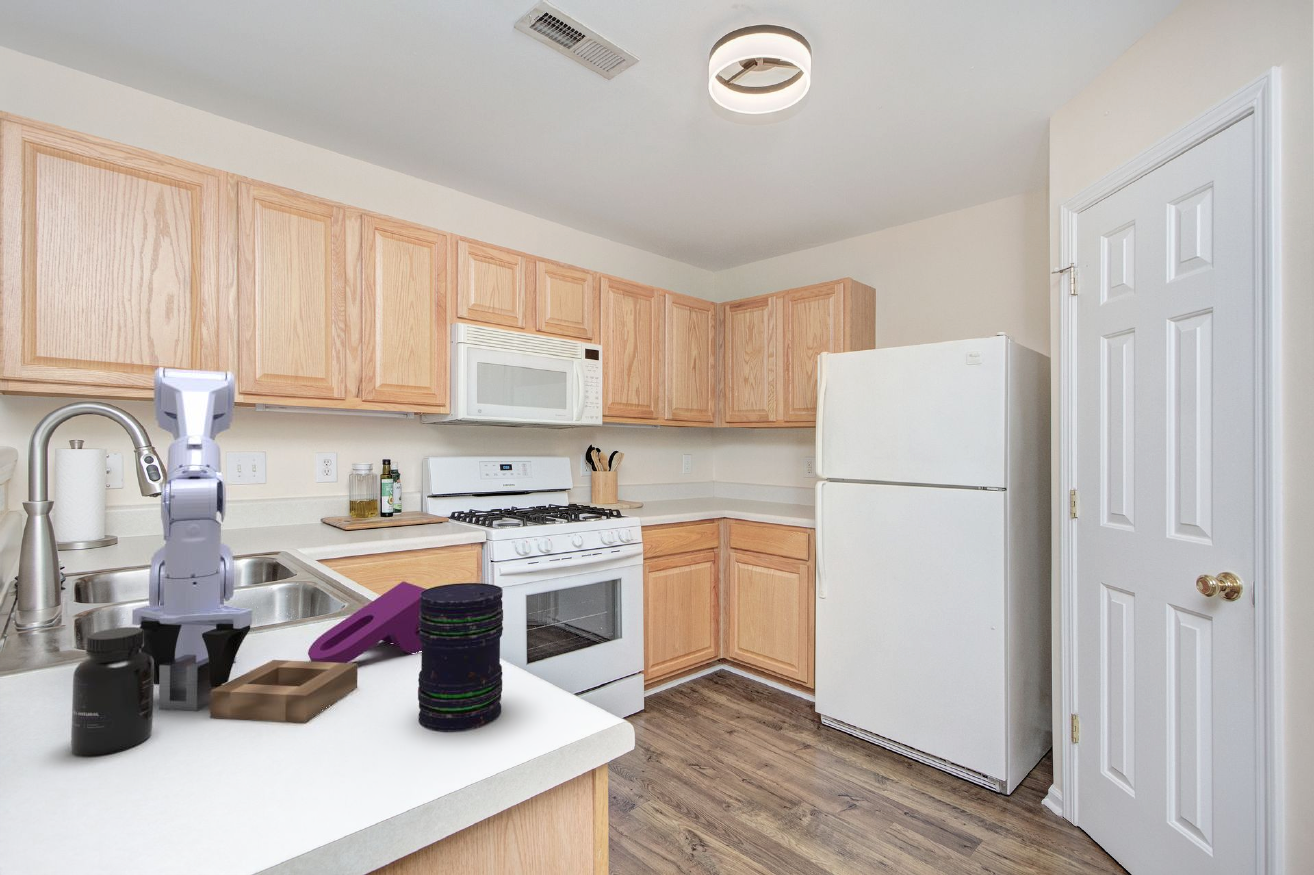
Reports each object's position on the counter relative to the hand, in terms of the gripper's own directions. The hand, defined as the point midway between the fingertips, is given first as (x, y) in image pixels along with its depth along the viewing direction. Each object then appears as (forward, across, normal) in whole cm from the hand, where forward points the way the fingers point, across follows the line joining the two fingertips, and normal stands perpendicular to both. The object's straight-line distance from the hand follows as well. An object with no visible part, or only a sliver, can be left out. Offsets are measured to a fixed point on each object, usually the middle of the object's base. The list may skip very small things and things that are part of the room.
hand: (191, 683), depth 81 cm
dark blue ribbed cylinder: (+3, +34, +1) cm, 35 cm away
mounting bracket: (+3, +12, +21) cm, 25 cm away
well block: (+3, +11, +2) cm, 12 cm away
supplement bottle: (+3, 0, -10) cm, 11 cm away
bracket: (+3, 0, 0) cm, 3 cm away
